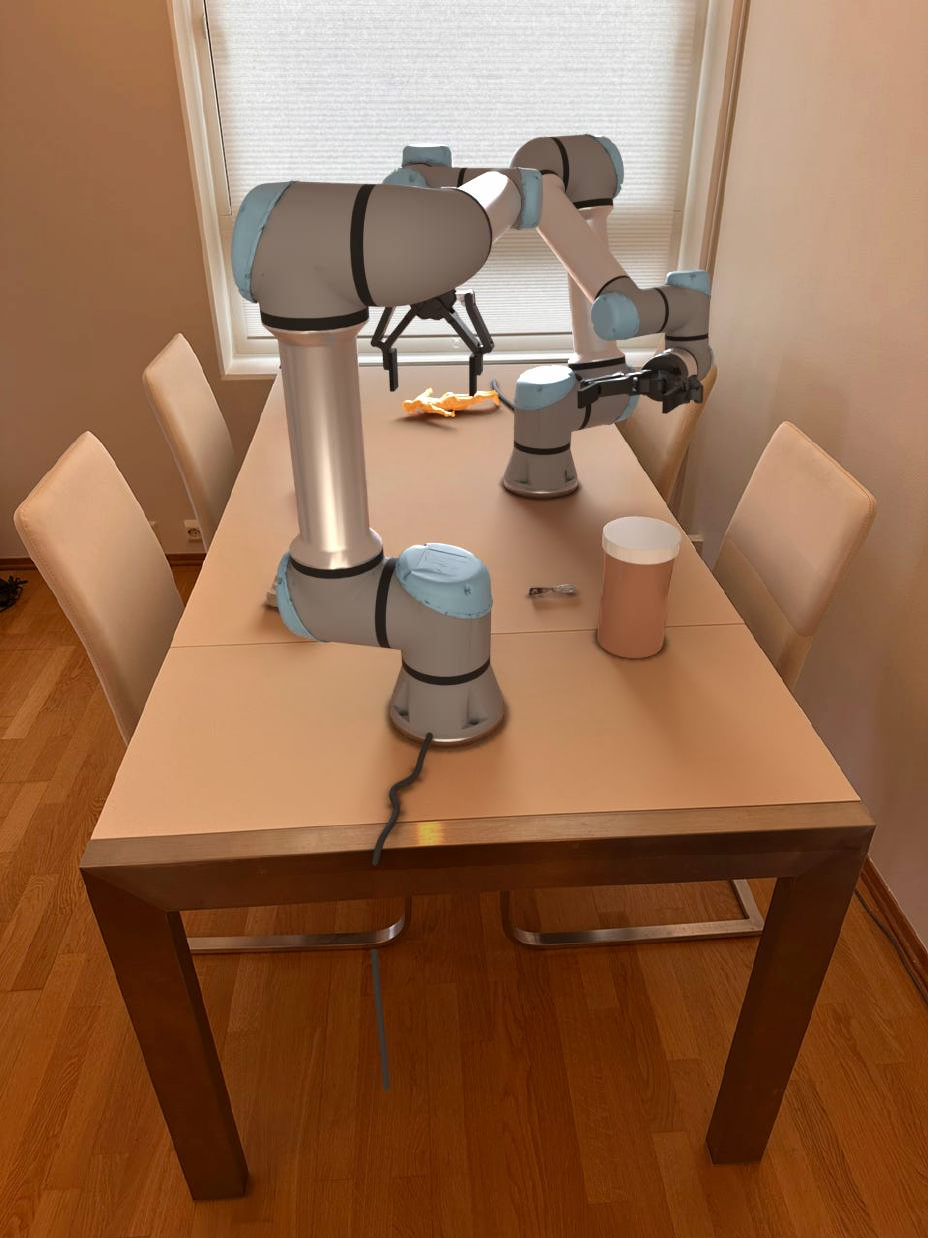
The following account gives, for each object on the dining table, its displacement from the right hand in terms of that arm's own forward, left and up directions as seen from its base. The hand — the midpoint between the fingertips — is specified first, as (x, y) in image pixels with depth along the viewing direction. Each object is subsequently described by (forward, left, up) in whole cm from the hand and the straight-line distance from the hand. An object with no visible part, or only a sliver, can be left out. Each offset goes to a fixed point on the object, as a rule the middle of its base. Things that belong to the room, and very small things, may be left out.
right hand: (621, 402), depth 135 cm
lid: (+18, -1, -13) cm, 22 cm away
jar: (+18, -1, -31) cm, 36 cm away
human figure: (-91, -13, -31) cm, 97 cm away
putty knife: (+3, -10, -31) cm, 33 cm away
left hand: (-20, -26, -3) cm, 33 cm away
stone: (-1, -50, -31) cm, 59 cm away
